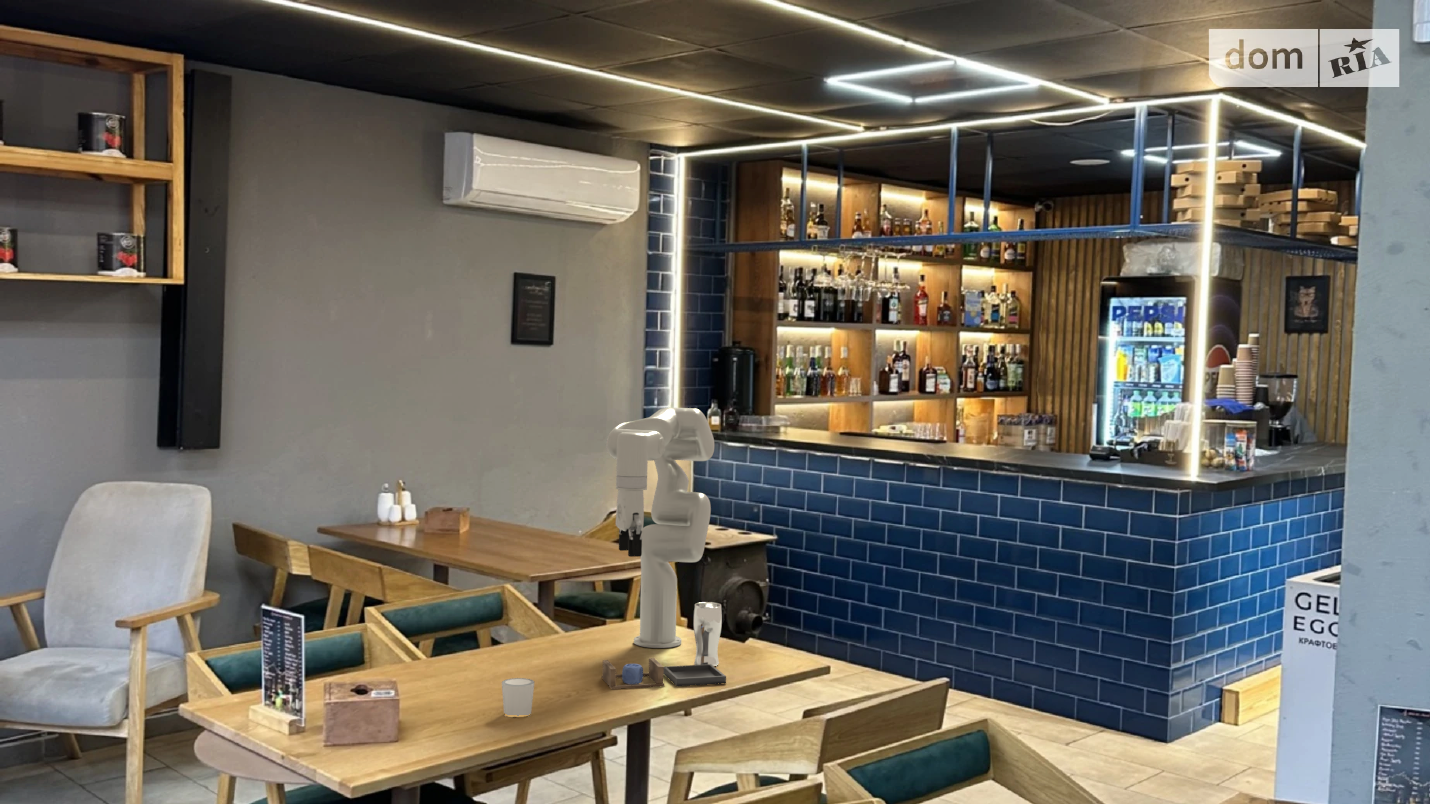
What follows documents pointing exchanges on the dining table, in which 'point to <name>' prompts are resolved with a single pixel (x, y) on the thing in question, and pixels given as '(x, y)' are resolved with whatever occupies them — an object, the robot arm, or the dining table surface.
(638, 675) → the decorative dice
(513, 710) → the white cup
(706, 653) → the beer glass
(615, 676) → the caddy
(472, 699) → the dining table surface
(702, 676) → the tray
